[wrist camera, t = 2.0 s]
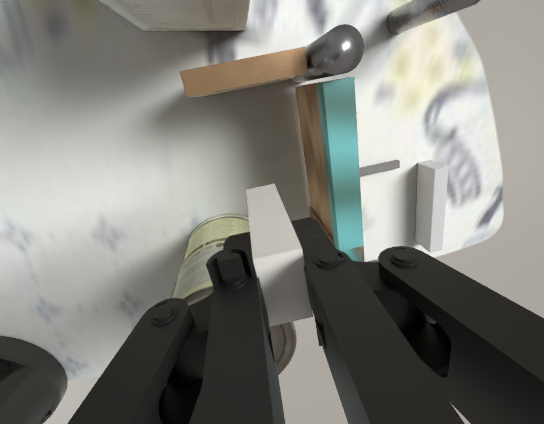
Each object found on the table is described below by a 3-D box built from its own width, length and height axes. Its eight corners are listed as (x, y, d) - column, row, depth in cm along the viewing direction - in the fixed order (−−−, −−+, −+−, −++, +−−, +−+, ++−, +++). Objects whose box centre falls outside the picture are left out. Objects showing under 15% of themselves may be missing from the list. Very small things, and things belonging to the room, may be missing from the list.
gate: (292, 87, 26) (323, 82, 17) (313, 83, 26) (354, 76, 17) (310, 219, 32) (340, 267, 23) (327, 215, 32) (364, 262, 23)
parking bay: (353, 270, 37) (363, 284, 34) (346, 170, 31) (357, 178, 28) (425, 253, 37) (440, 266, 34) (430, 152, 32) (449, 157, 29)
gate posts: (203, 101, 27) (182, 106, 16) (189, 48, 25) (154, 10, 14) (406, 60, 27) (522, 37, 16) (407, 6, 26) (538, -61, 15)
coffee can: (288, 256, 35) (321, 352, 22) (223, 299, 36) (218, 414, 23) (238, 194, 31) (242, 267, 18) (167, 246, 32) (122, 347, 19)
